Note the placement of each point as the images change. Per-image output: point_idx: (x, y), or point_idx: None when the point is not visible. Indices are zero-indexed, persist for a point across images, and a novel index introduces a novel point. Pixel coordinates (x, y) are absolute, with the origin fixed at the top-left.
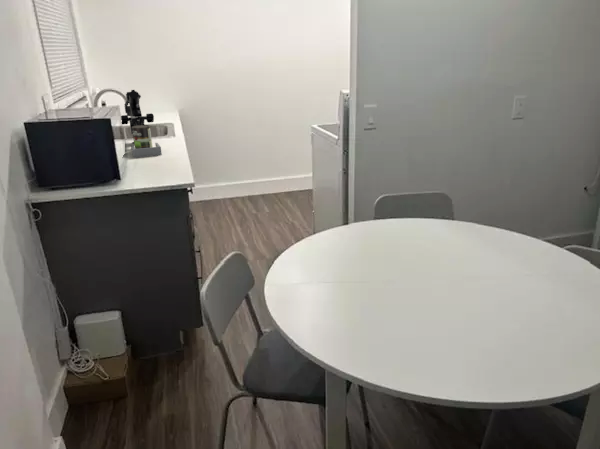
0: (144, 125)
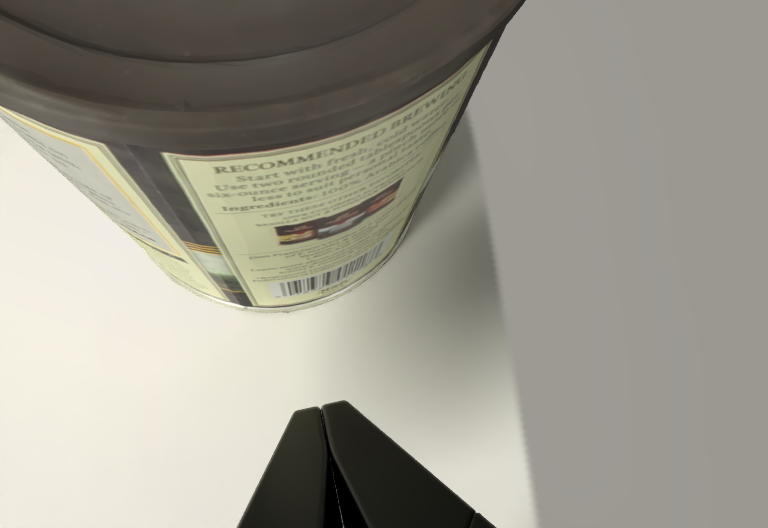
0: (32, 22)
